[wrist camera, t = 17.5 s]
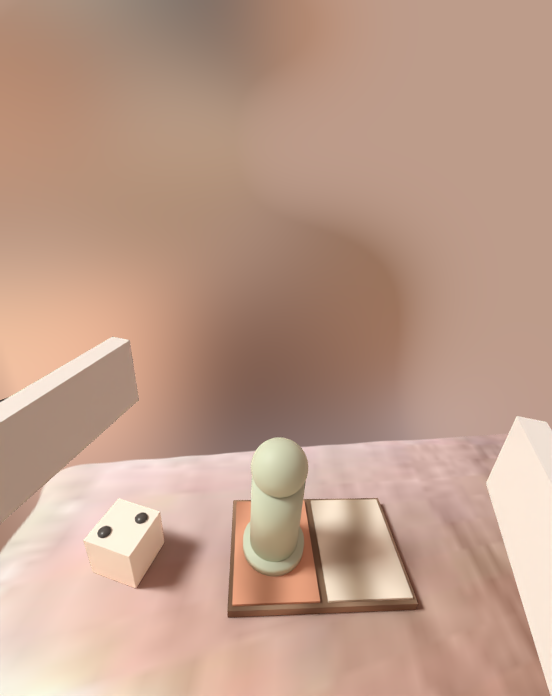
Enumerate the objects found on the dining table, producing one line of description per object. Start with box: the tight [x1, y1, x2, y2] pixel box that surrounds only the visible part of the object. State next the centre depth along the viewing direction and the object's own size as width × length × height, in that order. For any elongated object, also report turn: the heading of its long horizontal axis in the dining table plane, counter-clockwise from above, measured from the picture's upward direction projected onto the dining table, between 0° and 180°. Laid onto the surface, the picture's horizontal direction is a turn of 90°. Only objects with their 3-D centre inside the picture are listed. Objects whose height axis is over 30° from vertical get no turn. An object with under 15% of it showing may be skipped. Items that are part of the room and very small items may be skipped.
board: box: [228, 498, 418, 617], centre depth 38 cm, size 18×12×1 cm, turn 94°
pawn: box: [243, 438, 308, 577], centre depth 34 cm, size 6×6×14 cm
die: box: [83, 498, 164, 588], centre depth 36 cm, size 5×5×5 cm
